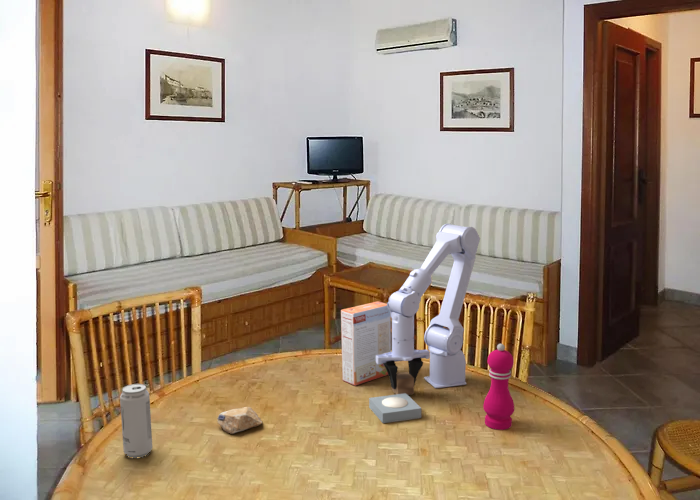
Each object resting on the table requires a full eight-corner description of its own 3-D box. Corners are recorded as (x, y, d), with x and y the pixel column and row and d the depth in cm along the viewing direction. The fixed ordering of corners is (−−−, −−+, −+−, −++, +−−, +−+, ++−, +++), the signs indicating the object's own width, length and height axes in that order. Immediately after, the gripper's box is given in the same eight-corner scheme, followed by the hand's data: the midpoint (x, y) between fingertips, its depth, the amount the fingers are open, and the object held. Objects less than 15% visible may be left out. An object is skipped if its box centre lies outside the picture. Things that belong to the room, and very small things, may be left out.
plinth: (405, 402, 174) (405, 392, 174) (421, 417, 165) (421, 407, 164) (369, 407, 171) (369, 397, 171) (382, 423, 162) (382, 412, 161)
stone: (214, 426, 161) (213, 408, 160) (253, 415, 167) (252, 398, 166) (230, 439, 154) (229, 420, 153) (270, 427, 160) (269, 409, 160)
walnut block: (407, 387, 182) (407, 371, 181) (413, 394, 177) (413, 377, 177) (391, 389, 180) (391, 373, 180) (397, 396, 176) (397, 379, 175)
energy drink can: (123, 449, 149) (118, 385, 146) (151, 445, 151) (147, 381, 148) (124, 461, 143) (119, 395, 141) (153, 456, 145) (149, 391, 143)
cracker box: (377, 369, 198) (377, 300, 195) (391, 374, 194) (392, 304, 190) (340, 380, 190) (340, 308, 186) (354, 386, 185) (354, 312, 181)
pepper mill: (514, 432, 157) (517, 349, 153) (482, 429, 158) (485, 347, 155) (513, 419, 164) (516, 340, 160) (482, 416, 165) (485, 338, 162)
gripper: (382, 344, 170) (382, 395, 173) (434, 339, 175) (434, 388, 177) (372, 336, 177) (373, 385, 179) (423, 331, 181) (423, 379, 184)
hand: (402, 386), depth 179 cm, fingers closed on walnut block, 4 cm apart
